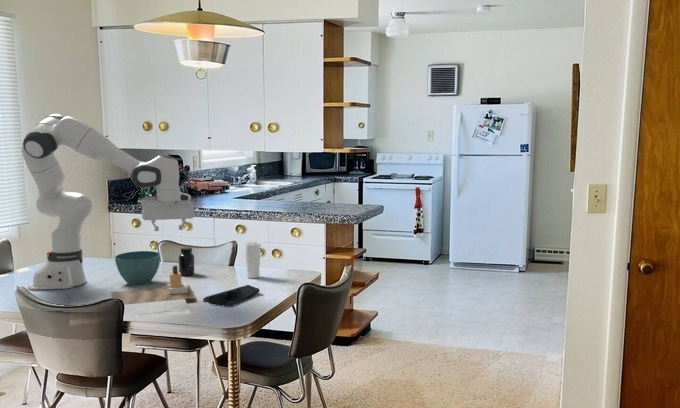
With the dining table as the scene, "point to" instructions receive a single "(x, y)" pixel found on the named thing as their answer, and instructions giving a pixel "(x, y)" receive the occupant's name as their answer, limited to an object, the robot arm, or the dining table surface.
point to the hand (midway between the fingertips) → (168, 230)
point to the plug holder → (178, 289)
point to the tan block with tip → (175, 278)
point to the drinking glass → (252, 259)
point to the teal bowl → (138, 266)
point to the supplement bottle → (186, 262)
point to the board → (152, 295)
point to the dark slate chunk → (232, 296)
